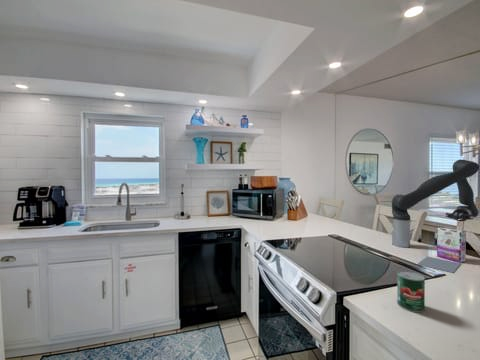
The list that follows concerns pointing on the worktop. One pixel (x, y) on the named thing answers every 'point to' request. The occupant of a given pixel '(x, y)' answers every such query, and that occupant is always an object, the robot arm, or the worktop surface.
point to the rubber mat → (439, 264)
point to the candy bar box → (451, 244)
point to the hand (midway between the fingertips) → (455, 217)
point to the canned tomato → (411, 291)
